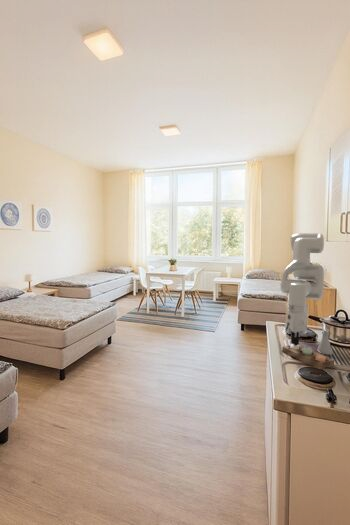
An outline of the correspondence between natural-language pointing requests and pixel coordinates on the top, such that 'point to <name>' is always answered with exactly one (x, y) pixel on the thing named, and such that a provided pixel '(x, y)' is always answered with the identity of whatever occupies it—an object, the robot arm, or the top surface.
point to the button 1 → (294, 346)
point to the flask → (325, 344)
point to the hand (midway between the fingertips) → (294, 343)
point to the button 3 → (320, 358)
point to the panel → (308, 357)
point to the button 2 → (307, 351)
